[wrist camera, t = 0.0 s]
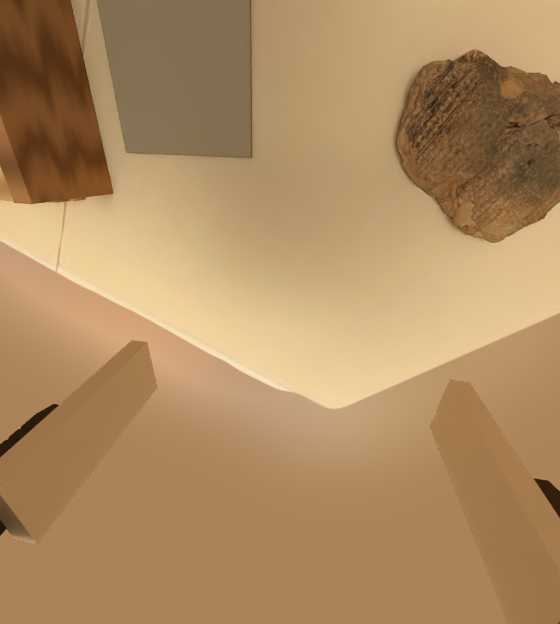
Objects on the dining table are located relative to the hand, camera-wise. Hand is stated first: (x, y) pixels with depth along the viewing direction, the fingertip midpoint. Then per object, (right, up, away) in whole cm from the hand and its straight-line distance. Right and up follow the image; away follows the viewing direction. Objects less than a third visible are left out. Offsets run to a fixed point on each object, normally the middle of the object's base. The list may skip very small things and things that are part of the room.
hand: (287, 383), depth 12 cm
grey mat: (-11, +30, +18) cm, 37 cm away
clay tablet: (+21, +21, +18) cm, 35 cm away
